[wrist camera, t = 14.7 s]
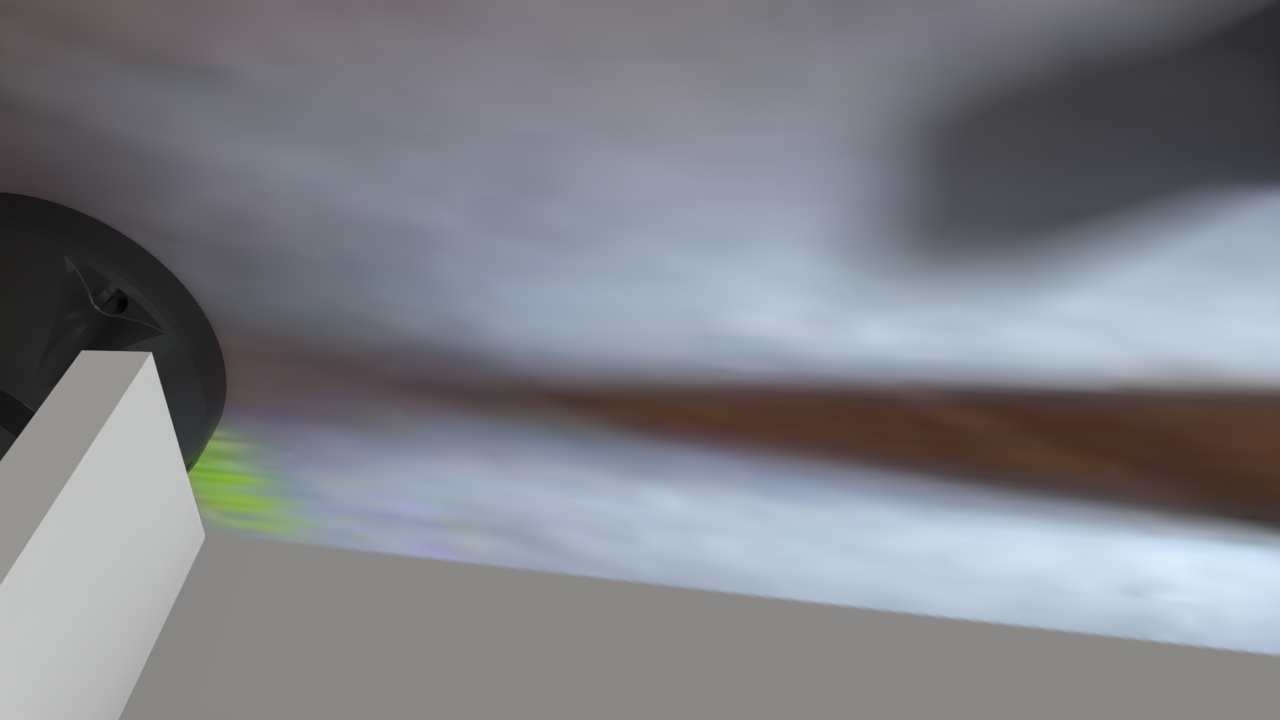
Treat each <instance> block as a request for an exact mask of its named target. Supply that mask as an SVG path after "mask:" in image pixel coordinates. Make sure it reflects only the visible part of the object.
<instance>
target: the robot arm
mask: <svg viewBox="0 0 1280 720" xmlns="http://www.w3.org/2000/svg"><path fill="white" fill-rule="evenodd" d="M225 397H226V373H225V366H224V361H223V356H222V353H221V349H220V346H219V343H218V341H217V338H216V336H215V333H214V331H213V329H212V327H211V325H210V323H209V321H208V319H207V318H206V316H205V314H204V313H203V311H202V309H201V308H200V306H199V305H198V303H197V302H196V301H195V299H194V298H193V297H192V295H191V294H190V293H189V291H188V290H187V289H186V288H185V287H184V285H183V284H182V283H181V282H180V281H179V280H178V279H177V278H176V277H175V276H174V275H173V274H172V273H171V272H170V271H169V270H168V269H167V268H166V267H165V266H164V265H163V264H162V263H161V262H160V261H159V260H157V259H156V258H155V257H154V256H153V255H151V254H150V253H149V252H148V251H146V250H145V249H144V248H143V247H141V246H140V245H138V244H137V243H135V242H134V241H133V240H131V239H130V238H128V237H126V236H125V235H123V234H122V233H120V232H119V231H117V230H115V229H113V228H111V227H110V226H108V225H106V224H104V223H102V222H100V221H98V220H96V219H94V218H92V217H90V216H87V215H85V214H83V213H80V212H78V211H75V210H73V209H70V208H67V207H64V206H61V205H58V204H55V203H51V202H48V201H44V200H40V199H35V198H31V197H25V196H19V195H11V194H0V720H118V719H119V717H120V715H121V713H122V711H123V708H124V706H125V705H126V702H127V700H128V698H129V696H130V694H131V692H132V689H133V688H134V686H135V683H136V681H137V679H138V677H139V675H140V673H141V671H142V669H143V667H144V665H145V663H146V660H147V658H148V656H149V654H150V652H151V650H152V648H153V645H154V644H155V642H156V640H157V637H158V635H159V633H160V631H161V629H162V627H163V624H164V623H165V620H166V619H167V616H168V614H169V612H170V610H171V608H172V606H173V604H174V602H175V600H176V597H177V595H178V593H179V591H180V589H181V587H182V585H183V583H184V581H185V579H186V576H187V575H188V572H189V570H190V568H191V566H192V564H193V562H194V560H195V558H196V556H197V553H198V551H199V549H200V547H201V545H202V543H203V541H204V539H205V534H204V530H203V527H202V523H201V520H200V517H199V513H198V510H197V506H196V503H195V499H194V496H193V492H192V489H191V486H190V482H189V479H188V475H187V474H188V472H189V471H190V470H191V469H192V468H193V466H194V465H195V464H196V462H197V461H198V459H199V458H200V456H201V454H202V452H203V451H204V449H205V447H206V445H207V443H208V442H209V440H210V438H211V436H212V434H213V433H214V431H215V429H216V427H217V425H218V423H219V420H220V418H221V415H222V412H223V408H224V404H225Z"/></svg>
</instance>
